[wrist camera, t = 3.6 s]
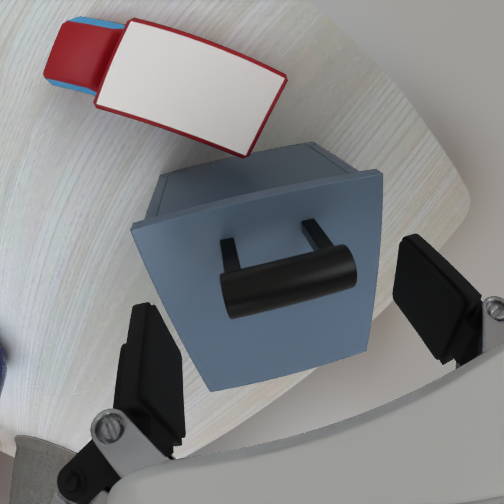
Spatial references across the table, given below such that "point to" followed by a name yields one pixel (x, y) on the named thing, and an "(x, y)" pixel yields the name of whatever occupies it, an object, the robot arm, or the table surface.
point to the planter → (2, 369)
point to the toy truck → (167, 80)
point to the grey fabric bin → (36, 470)
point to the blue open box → (243, 176)
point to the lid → (270, 276)
